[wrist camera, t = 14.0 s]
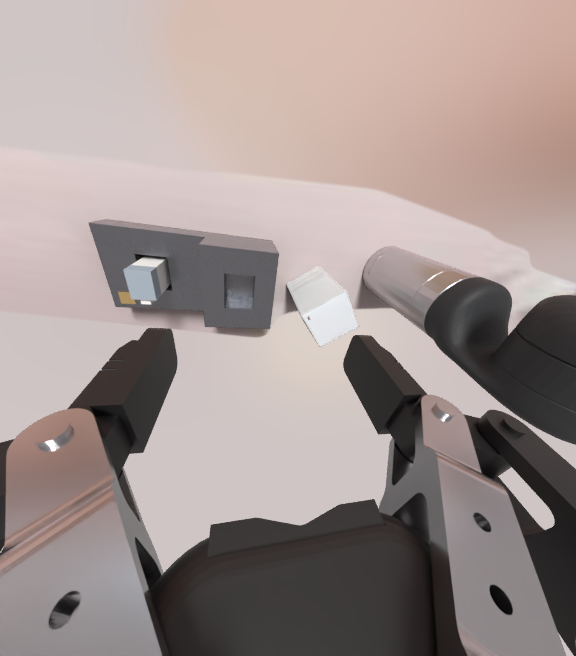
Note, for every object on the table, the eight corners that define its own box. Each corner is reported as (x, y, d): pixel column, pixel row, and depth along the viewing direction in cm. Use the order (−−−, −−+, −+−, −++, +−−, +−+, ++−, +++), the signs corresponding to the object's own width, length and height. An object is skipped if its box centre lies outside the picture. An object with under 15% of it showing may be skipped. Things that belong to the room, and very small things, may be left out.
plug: (169, 255, 33) (150, 271, 26) (174, 284, 35) (157, 305, 28) (148, 253, 32) (123, 269, 25) (154, 283, 34) (132, 304, 28)
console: (271, 240, 35) (279, 253, 27) (265, 304, 41) (269, 328, 34) (106, 219, 29) (59, 228, 22) (127, 296, 36) (96, 323, 28)
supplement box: (301, 311, 43) (318, 349, 33) (285, 283, 39) (299, 315, 29) (332, 295, 43) (360, 328, 32) (319, 263, 38) (347, 290, 28)
